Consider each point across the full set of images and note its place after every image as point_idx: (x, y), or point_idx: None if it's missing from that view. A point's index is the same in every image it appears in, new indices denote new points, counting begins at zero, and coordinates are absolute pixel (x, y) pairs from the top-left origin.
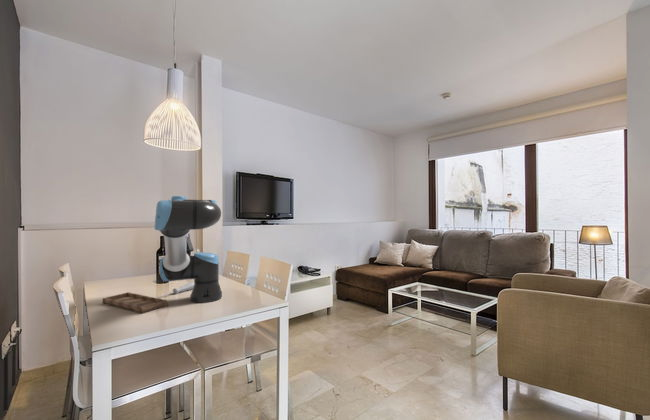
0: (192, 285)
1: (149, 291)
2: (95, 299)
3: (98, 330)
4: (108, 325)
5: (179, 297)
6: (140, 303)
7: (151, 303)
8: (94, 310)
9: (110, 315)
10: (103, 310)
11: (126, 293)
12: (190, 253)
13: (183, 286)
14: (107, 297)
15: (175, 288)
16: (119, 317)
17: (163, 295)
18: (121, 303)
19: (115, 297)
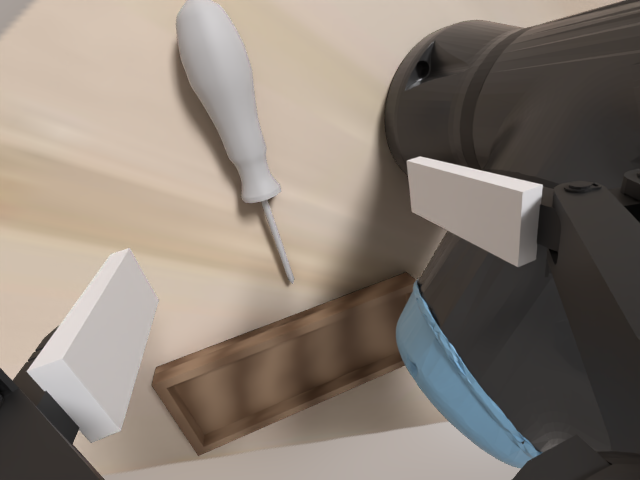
0: (251, 71)
1: (91, 278)
2: (99, 463)
3: (440, 418)
4: (429, 405)
5: (340, 198)
6: (333, 345)
7: (364, 316)
8: (271, 444)
9: (359, 407)
10: (292, 425)
11: (169, 391)
12: (552, 189)
13: (252, 140)
14: (194, 444)
15: (267, 197)
16: (395, 389)
17: (286, 257)
18: (319, 401)
19: (189, 418)
